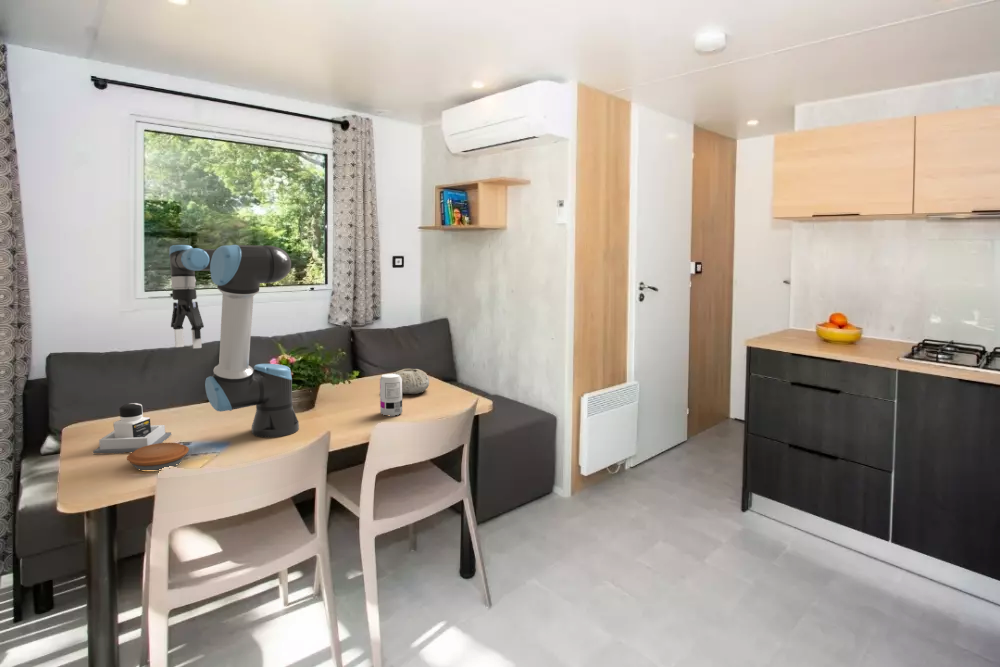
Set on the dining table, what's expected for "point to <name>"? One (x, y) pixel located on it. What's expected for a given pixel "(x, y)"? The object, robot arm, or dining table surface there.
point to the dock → (131, 441)
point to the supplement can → (391, 394)
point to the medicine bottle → (132, 422)
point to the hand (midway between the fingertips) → (188, 347)
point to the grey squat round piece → (413, 381)
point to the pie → (158, 456)
